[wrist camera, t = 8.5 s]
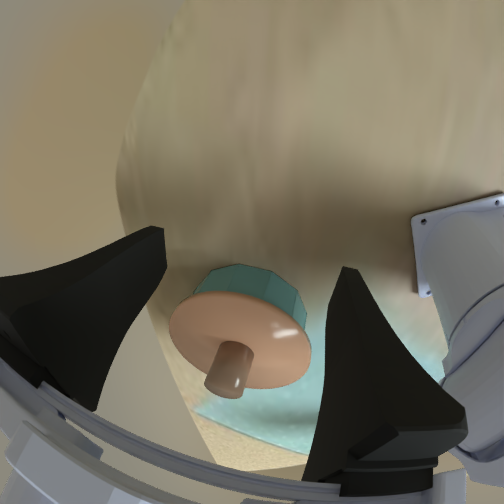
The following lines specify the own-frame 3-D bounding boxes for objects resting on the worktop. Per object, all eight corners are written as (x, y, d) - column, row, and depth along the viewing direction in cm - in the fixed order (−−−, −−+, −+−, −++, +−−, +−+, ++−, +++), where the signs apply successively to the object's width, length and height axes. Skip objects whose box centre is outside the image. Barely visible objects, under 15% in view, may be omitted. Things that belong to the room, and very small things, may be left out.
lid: (333, 317, 20) (330, 371, 16) (289, 393, 27) (281, 431, 24) (169, 271, 21) (138, 313, 17) (176, 359, 29) (158, 393, 25)
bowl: (281, 253, 23) (272, 285, 19) (317, 339, 27) (313, 371, 24) (178, 277, 27) (160, 304, 24) (227, 348, 32) (217, 375, 28)
